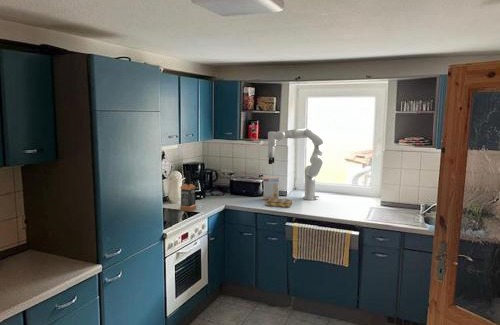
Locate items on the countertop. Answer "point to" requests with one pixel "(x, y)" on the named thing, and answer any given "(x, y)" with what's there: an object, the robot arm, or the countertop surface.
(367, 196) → the countertop surface
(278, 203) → the tan flat block
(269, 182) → the cracker box
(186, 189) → the whiskey bottle
